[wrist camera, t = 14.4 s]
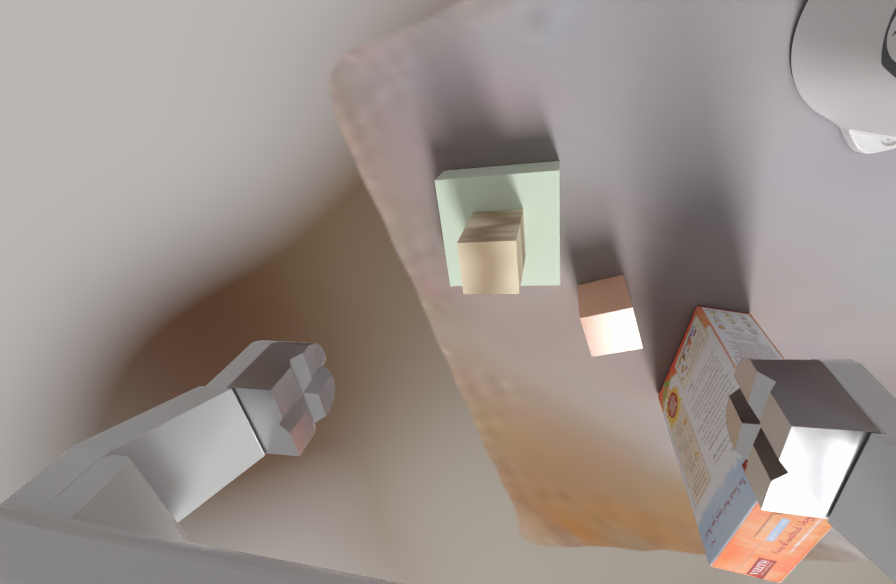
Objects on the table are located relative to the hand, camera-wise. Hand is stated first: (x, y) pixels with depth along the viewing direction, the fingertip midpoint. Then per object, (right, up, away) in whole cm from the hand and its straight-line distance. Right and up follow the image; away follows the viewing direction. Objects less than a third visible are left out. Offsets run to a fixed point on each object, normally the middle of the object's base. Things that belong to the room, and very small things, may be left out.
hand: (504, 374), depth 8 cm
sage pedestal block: (+5, +10, +37) cm, 39 cm away
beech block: (+4, +8, +34) cm, 35 cm away
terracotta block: (+17, +1, +39) cm, 43 cm away
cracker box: (+29, -6, +40) cm, 50 cm away
